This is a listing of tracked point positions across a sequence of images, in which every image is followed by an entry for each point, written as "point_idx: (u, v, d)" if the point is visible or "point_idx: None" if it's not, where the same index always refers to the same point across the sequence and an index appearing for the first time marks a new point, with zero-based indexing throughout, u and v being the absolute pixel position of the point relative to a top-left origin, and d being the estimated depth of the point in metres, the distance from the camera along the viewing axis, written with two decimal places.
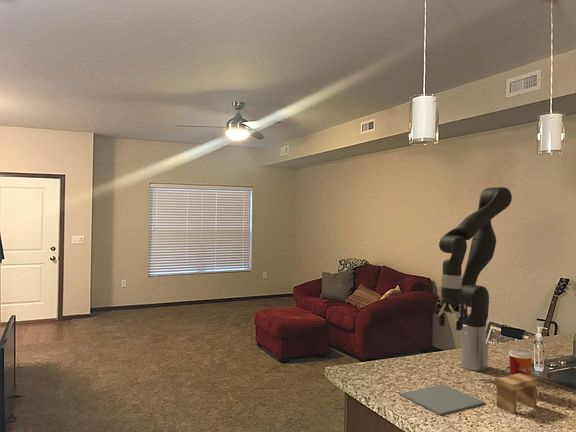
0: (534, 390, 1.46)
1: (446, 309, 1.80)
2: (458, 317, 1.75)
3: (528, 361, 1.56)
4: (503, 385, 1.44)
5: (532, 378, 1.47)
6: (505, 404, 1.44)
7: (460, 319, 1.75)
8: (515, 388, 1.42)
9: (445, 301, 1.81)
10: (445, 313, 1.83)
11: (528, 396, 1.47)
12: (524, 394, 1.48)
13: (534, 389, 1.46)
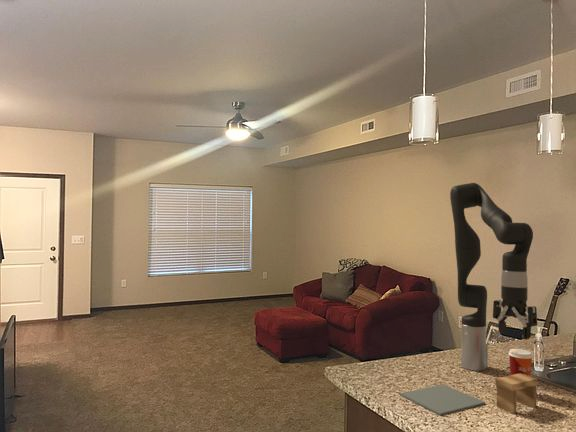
0: (534, 390, 1.46)
1: (508, 313, 1.47)
2: (525, 323, 1.42)
3: (528, 361, 1.56)
4: (503, 385, 1.44)
5: (532, 378, 1.47)
6: (505, 404, 1.44)
7: (528, 325, 1.42)
8: (515, 388, 1.42)
9: (507, 303, 1.48)
10: (506, 317, 1.50)
11: (528, 396, 1.47)
12: (524, 394, 1.48)
13: (535, 389, 1.46)
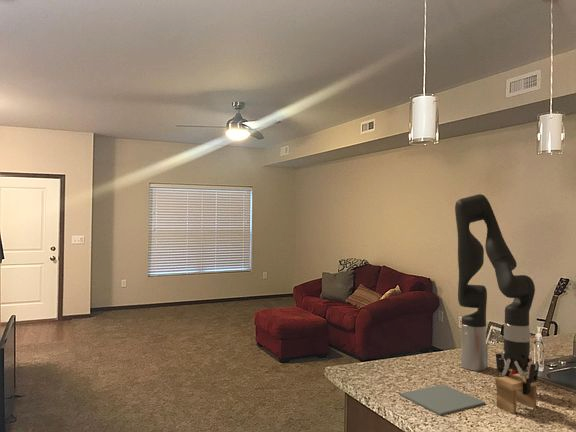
0: (534, 390, 1.46)
1: (512, 366, 1.47)
2: (526, 379, 1.42)
3: None
4: (503, 385, 1.44)
5: None
6: (505, 404, 1.44)
7: (528, 381, 1.42)
8: (515, 388, 1.42)
9: (509, 356, 1.48)
10: (510, 371, 1.49)
11: (528, 396, 1.47)
12: None
13: (534, 389, 1.46)
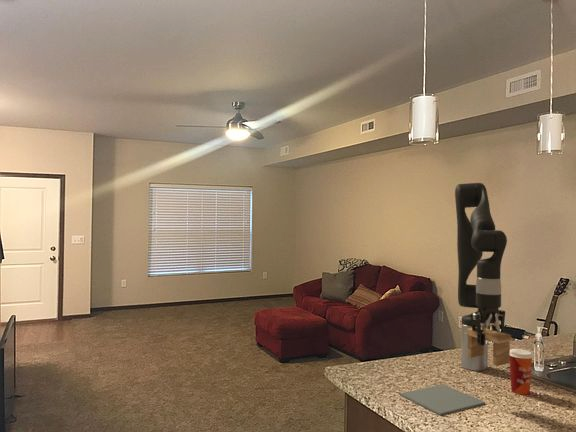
0: (494, 347, 1.43)
1: None
2: None
3: (528, 361, 1.56)
4: None
5: (497, 335, 1.44)
6: None
7: None
8: (470, 334, 1.51)
9: None
10: (496, 327, 1.49)
11: None
12: None
13: (495, 346, 1.43)
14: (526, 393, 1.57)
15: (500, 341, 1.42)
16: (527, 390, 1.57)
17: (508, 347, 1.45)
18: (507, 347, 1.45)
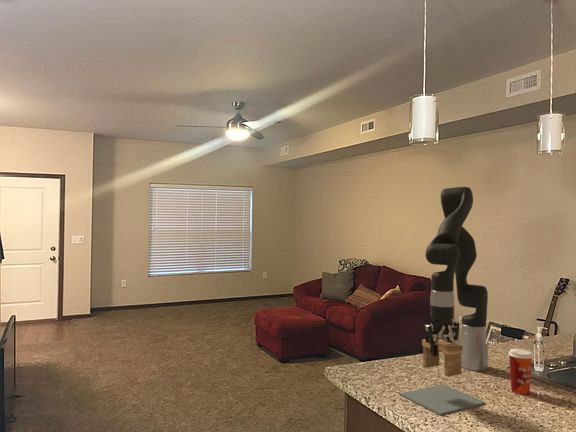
0: (445, 358, 1.47)
1: None
2: None
3: (528, 361, 1.56)
4: None
5: (448, 347, 1.47)
6: None
7: None
8: (425, 344, 1.55)
9: None
10: (450, 338, 1.53)
11: None
12: None
13: (446, 357, 1.47)
14: (526, 393, 1.57)
15: (451, 352, 1.46)
16: (527, 390, 1.57)
17: (460, 358, 1.48)
18: (459, 359, 1.48)
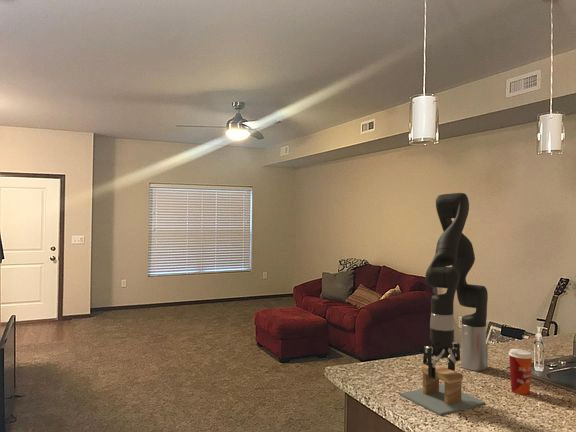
0: (445, 386, 1.47)
1: None
2: None
3: (528, 361, 1.56)
4: None
5: (448, 375, 1.47)
6: None
7: None
8: (424, 371, 1.55)
9: None
10: (451, 360, 1.53)
11: None
12: None
13: (446, 385, 1.46)
14: (526, 393, 1.57)
15: (451, 381, 1.46)
16: (527, 390, 1.57)
17: (460, 386, 1.48)
18: (459, 387, 1.48)
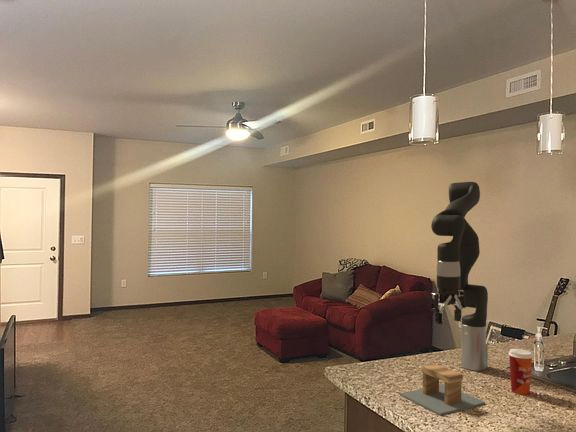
0: (445, 386, 1.47)
1: None
2: None
3: (528, 361, 1.56)
4: None
5: (448, 375, 1.47)
6: None
7: None
8: (424, 371, 1.55)
9: None
10: (458, 307, 1.56)
11: None
12: None
13: (446, 385, 1.46)
14: (526, 393, 1.57)
15: (451, 381, 1.46)
16: (527, 390, 1.57)
17: (460, 386, 1.48)
18: (459, 387, 1.48)
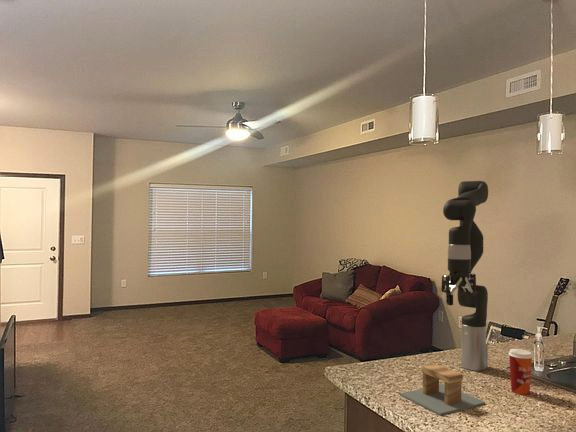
0: (445, 386, 1.47)
1: None
2: None
3: (528, 361, 1.56)
4: None
5: (448, 375, 1.47)
6: None
7: None
8: (424, 371, 1.55)
9: None
10: (468, 289, 1.61)
11: None
12: None
13: (446, 385, 1.46)
14: (526, 393, 1.57)
15: (451, 381, 1.46)
16: (527, 390, 1.57)
17: (460, 386, 1.48)
18: (459, 387, 1.48)
